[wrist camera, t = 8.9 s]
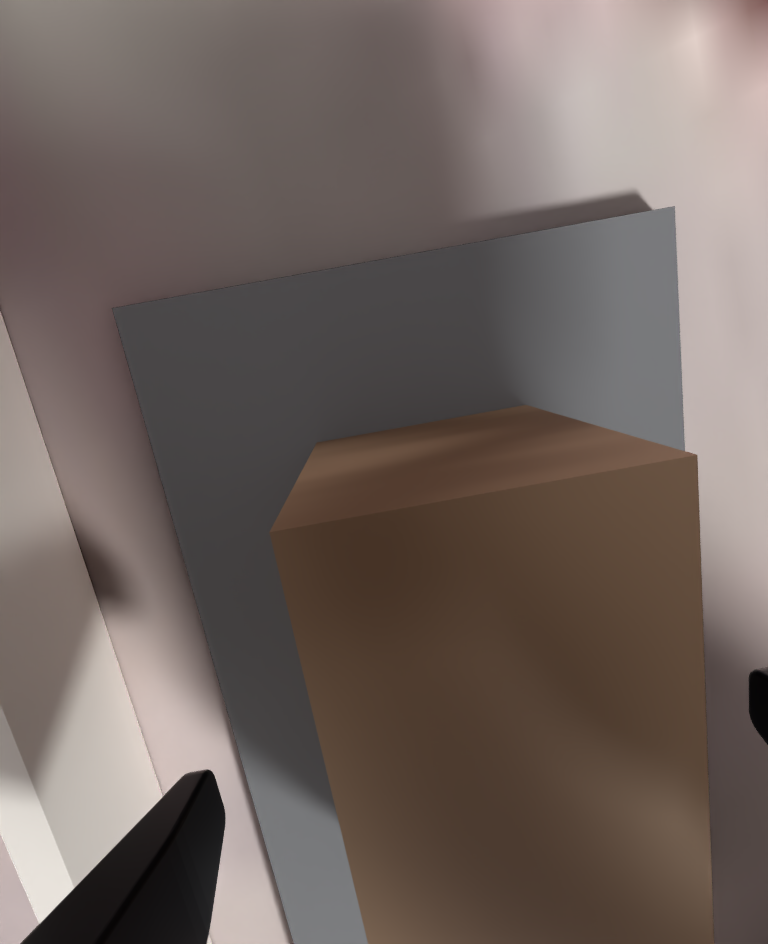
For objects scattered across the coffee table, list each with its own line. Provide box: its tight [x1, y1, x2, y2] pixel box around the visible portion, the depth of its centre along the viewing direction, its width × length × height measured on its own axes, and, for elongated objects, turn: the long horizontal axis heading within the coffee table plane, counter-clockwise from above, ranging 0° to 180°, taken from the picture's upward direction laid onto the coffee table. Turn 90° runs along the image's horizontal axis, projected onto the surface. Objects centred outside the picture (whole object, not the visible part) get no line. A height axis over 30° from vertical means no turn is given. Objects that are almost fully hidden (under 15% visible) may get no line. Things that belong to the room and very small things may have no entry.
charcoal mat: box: [112, 206, 685, 944], centre depth 11 cm, size 10×16×1 cm, turn 10°
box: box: [269, 405, 714, 944], centre depth 8 cm, size 4×10×5 cm, turn 10°
